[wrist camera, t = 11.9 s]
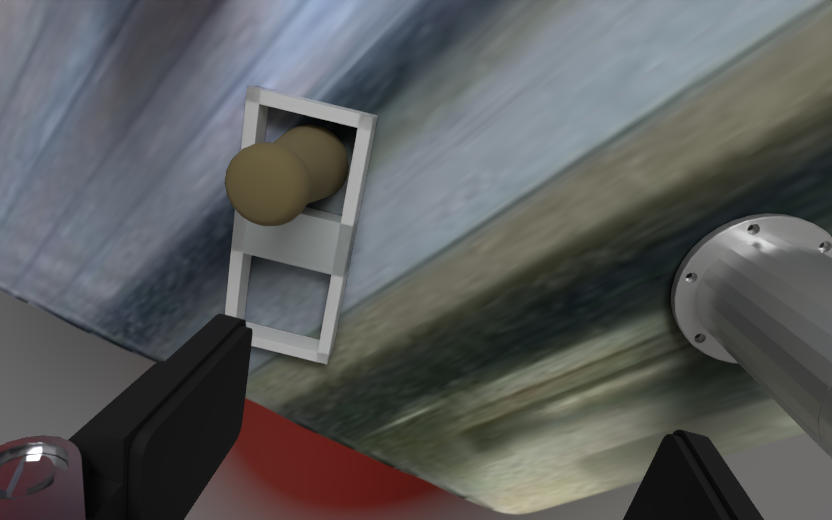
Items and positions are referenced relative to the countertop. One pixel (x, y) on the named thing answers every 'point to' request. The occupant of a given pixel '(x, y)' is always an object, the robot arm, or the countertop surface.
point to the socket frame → (300, 227)
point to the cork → (286, 174)
